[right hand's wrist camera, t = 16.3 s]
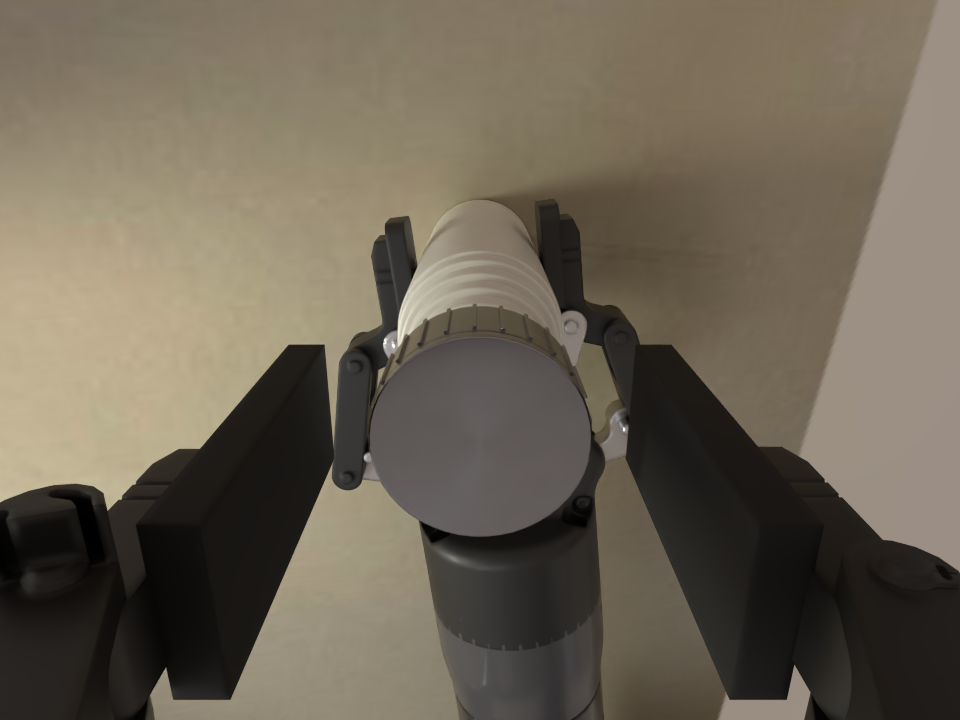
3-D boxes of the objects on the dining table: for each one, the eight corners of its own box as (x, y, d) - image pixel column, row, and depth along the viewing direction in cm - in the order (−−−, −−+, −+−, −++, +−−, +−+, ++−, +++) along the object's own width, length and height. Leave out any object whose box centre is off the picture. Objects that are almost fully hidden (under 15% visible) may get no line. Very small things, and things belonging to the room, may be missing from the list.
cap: (567, 490, 15) (580, 546, 13) (379, 478, 15) (363, 533, 13) (591, 310, 14) (611, 342, 12) (382, 295, 14) (366, 325, 12)
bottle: (408, 241, 30) (309, 409, 13) (490, 177, 29) (506, 263, 12) (470, 320, 32) (458, 570, 14) (551, 261, 31) (646, 451, 13)
